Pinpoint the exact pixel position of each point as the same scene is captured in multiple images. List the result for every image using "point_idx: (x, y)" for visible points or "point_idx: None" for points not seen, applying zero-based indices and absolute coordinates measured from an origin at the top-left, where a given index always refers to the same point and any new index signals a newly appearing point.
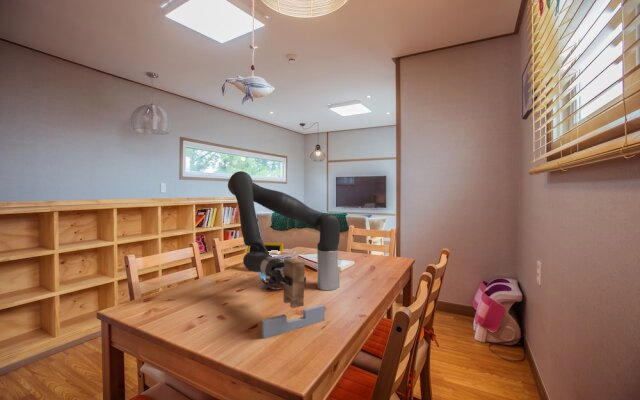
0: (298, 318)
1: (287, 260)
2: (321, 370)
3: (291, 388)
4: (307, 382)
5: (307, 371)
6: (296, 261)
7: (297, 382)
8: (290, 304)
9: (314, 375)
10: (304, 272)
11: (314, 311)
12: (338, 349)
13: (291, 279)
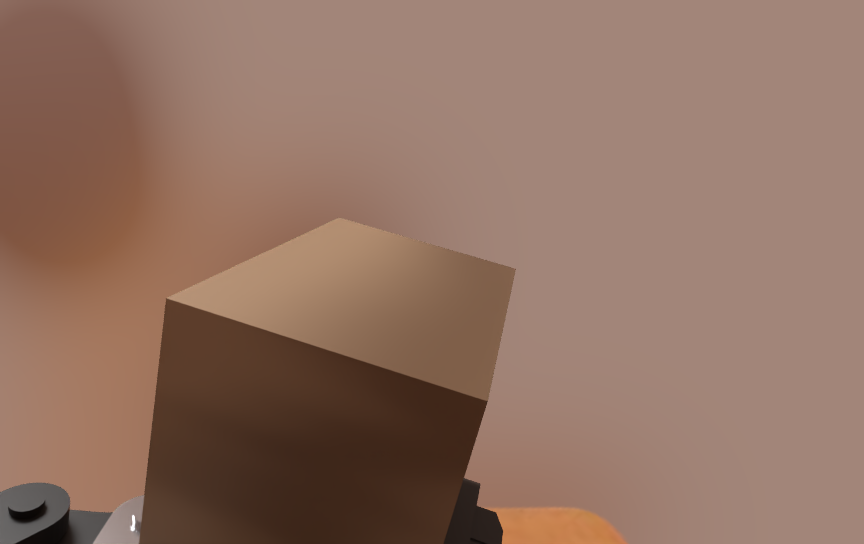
0: None
1: (492, 335)
2: (485, 508)
3: (621, 538)
4: (562, 515)
5: (529, 541)
6: (412, 259)
7: (590, 538)
8: None
9: (522, 514)
10: (27, 490)
11: None
12: None
13: (466, 480)
